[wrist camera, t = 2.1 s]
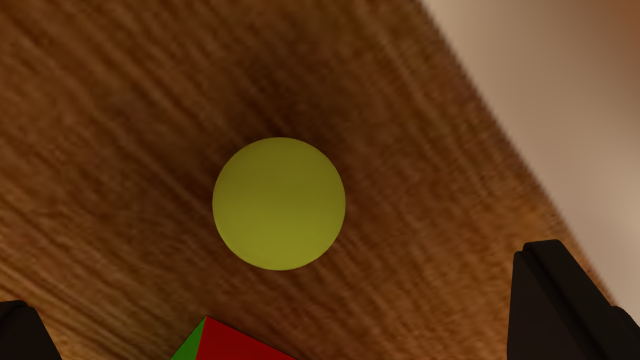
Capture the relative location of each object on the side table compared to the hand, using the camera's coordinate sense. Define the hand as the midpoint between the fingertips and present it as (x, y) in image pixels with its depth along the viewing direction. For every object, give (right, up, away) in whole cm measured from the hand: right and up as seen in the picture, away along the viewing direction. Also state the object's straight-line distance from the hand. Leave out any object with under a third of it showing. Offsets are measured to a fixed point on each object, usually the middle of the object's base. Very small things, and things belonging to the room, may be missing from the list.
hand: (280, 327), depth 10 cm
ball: (0, +2, +4) cm, 4 cm away
